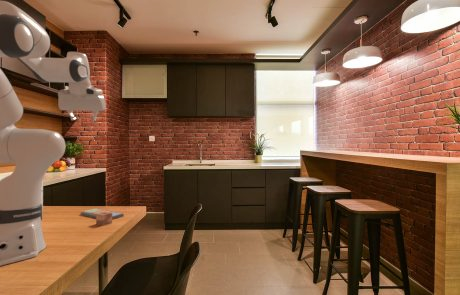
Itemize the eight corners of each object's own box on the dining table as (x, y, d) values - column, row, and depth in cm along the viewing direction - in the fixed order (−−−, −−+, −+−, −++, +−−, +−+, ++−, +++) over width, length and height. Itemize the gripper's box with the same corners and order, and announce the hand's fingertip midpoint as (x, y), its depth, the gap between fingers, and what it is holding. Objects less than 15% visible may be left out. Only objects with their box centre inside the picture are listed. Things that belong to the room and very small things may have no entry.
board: (107, 220, 117) (107, 217, 117) (80, 214, 127) (80, 211, 127) (123, 216, 125) (123, 213, 125) (97, 210, 135) (97, 208, 135)
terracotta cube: (102, 225, 110) (103, 215, 110) (96, 224, 112) (96, 213, 112) (112, 223, 114) (112, 213, 114) (105, 221, 116) (105, 211, 116)
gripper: (53, 89, 114) (57, 120, 117) (99, 91, 114) (102, 122, 117) (62, 89, 120) (65, 118, 123) (106, 90, 120) (108, 120, 123)
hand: (83, 120), depth 120 cm, fingers open, 8 cm apart
